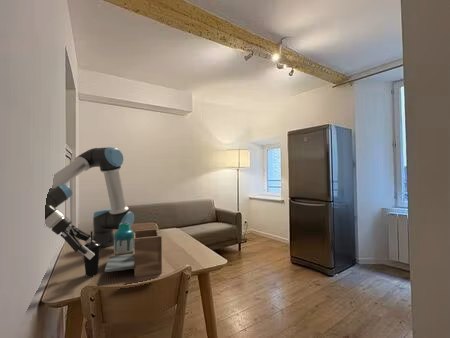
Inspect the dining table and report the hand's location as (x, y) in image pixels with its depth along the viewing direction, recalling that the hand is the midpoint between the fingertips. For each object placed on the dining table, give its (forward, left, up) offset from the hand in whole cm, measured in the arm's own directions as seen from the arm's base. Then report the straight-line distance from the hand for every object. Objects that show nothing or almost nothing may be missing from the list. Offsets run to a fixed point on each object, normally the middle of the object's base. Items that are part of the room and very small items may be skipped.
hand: (95, 252), depth 114 cm
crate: (+1, +17, -10) cm, 20 cm away
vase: (-18, +11, -10) cm, 24 cm away
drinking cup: (0, -2, -10) cm, 10 cm away
